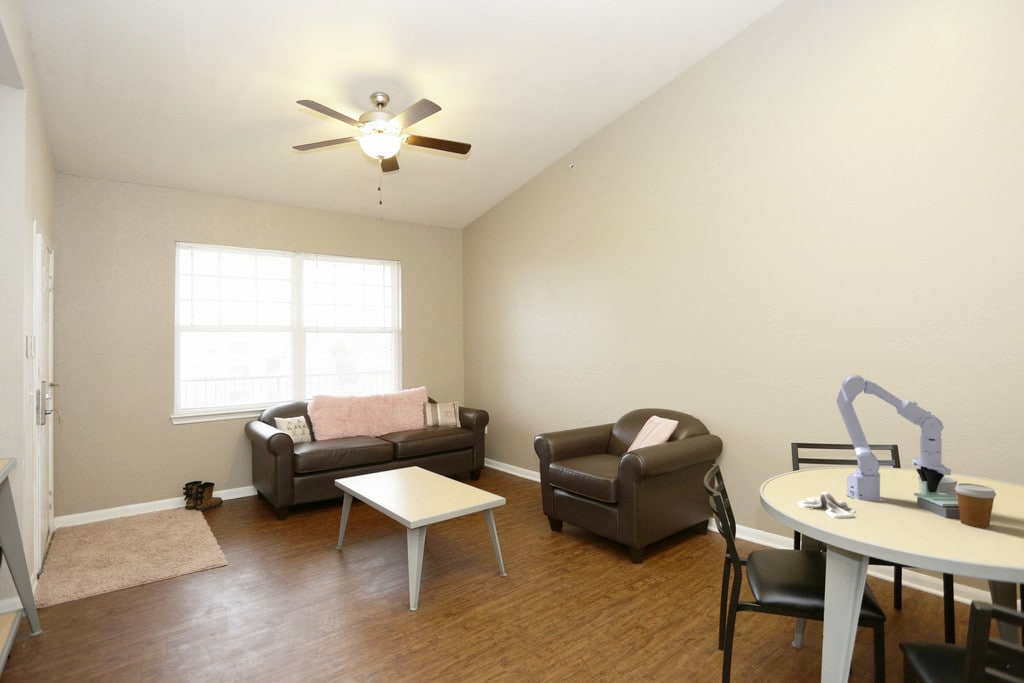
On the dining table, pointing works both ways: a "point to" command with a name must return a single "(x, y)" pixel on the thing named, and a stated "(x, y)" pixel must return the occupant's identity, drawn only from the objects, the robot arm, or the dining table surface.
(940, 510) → the tub
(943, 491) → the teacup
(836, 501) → the cloth
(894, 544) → the dining table surface
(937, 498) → the lid
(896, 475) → the dining table surface
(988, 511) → the disposable coffee cup
